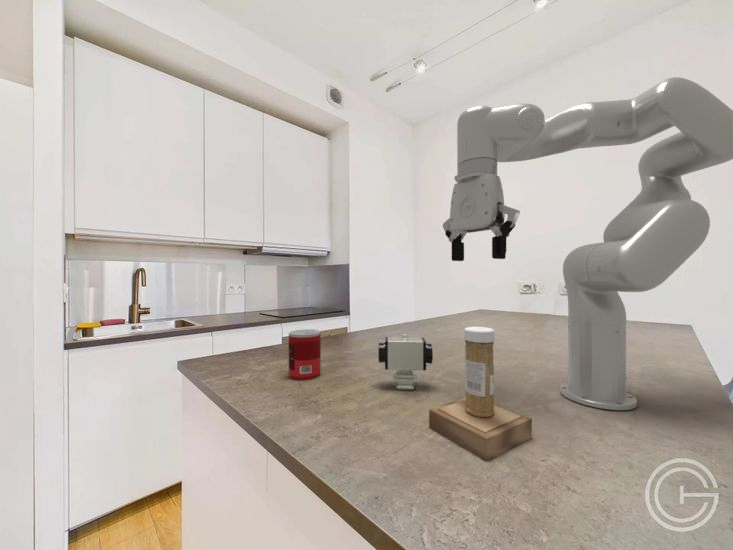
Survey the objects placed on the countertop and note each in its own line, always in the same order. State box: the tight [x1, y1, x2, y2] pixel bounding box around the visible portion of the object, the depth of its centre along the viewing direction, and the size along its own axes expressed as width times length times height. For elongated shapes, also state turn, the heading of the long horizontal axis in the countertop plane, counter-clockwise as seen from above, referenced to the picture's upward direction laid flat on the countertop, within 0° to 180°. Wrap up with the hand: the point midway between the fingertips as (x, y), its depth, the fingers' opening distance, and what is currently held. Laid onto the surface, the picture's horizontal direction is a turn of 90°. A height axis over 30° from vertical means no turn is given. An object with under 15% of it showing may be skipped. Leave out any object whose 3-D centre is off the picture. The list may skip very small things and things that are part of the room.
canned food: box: [288, 328, 322, 381], centre depth 78 cm, size 8×8×11 cm
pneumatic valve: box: [377, 333, 434, 391], centre depth 70 cm, size 6×12×12 cm, turn 86°
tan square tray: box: [428, 397, 533, 462], centre depth 49 cm, size 11×11×3 cm
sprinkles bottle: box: [463, 326, 496, 417], centre depth 49 cm, size 5×5×14 cm
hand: (477, 259), depth 62 cm, fingers open, 9 cm apart
